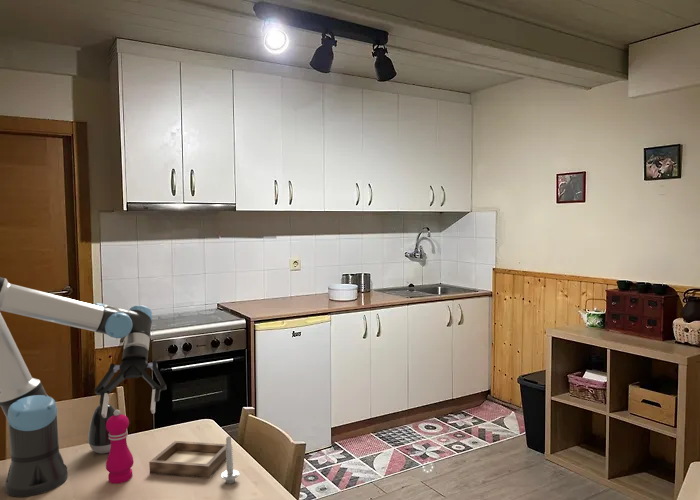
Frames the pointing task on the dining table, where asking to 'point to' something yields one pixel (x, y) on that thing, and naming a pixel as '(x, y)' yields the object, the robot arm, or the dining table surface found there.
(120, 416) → the pepper mill
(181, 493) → the dining table surface
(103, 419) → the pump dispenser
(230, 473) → the screw
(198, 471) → the walnut tray
